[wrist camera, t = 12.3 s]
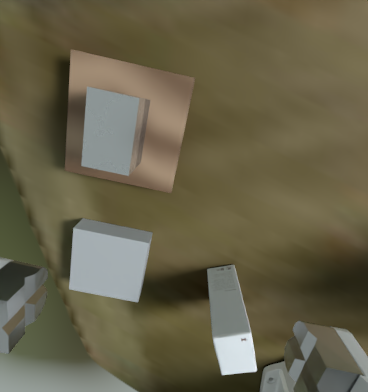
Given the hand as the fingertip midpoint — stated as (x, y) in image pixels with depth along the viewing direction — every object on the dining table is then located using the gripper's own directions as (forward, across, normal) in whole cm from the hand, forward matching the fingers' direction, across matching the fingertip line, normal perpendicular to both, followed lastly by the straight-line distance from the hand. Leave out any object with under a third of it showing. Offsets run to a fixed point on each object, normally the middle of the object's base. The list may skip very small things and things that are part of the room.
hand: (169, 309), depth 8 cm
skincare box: (+26, -9, +17) cm, 33 cm away
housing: (+22, +8, -3) cm, 24 cm away
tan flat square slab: (+25, +8, -3) cm, 27 cm away
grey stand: (+26, +8, +16) cm, 31 cm away
